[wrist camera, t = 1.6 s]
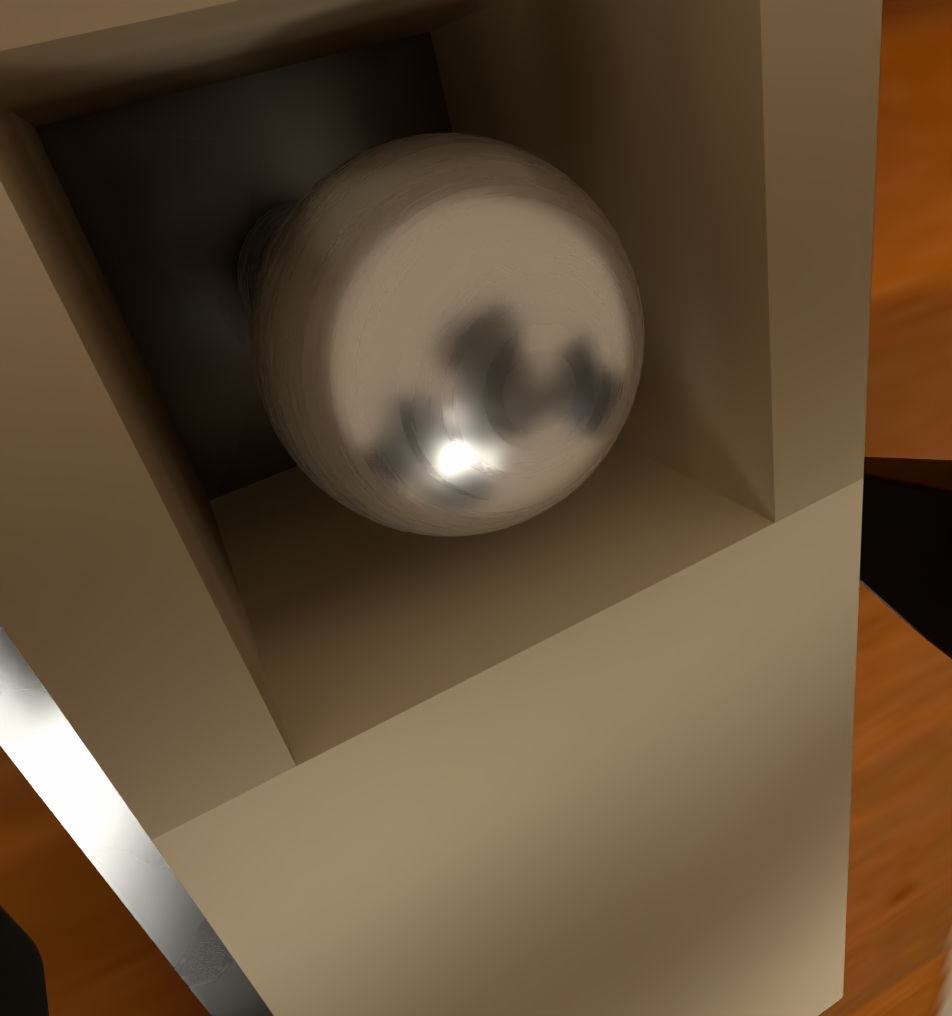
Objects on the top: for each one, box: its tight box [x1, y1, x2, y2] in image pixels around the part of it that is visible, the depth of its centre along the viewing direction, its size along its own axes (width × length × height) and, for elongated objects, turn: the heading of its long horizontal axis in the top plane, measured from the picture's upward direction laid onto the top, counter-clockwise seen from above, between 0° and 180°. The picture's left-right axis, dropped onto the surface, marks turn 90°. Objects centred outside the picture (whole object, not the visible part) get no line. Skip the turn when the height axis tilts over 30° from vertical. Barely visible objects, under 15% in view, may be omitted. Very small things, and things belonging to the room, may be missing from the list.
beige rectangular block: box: [0, 0, 882, 1016], centre depth 7 cm, size 12×5×4 cm, turn 13°
